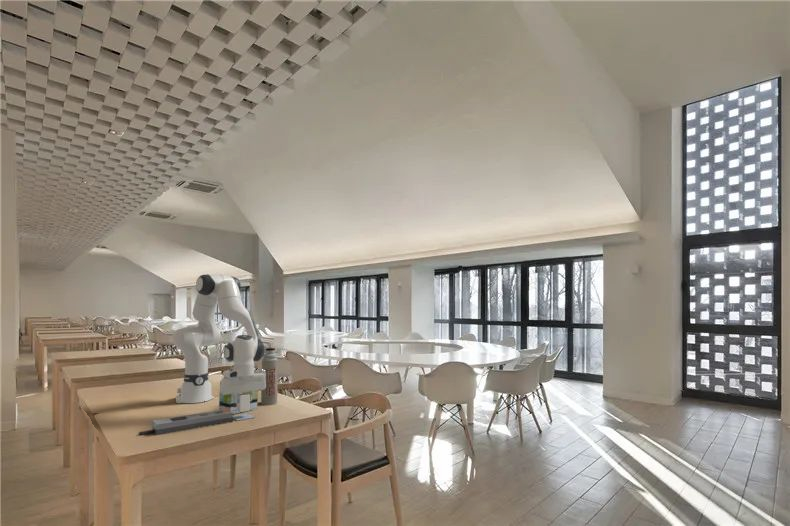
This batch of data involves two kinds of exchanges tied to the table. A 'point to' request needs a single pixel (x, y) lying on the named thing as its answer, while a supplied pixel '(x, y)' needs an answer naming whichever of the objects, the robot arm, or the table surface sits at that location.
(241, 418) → the felt pad
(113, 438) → the table surface
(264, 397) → the thermos bottle
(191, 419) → the power strip
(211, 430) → the table surface
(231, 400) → the tea box
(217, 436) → the table surface
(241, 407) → the charger
